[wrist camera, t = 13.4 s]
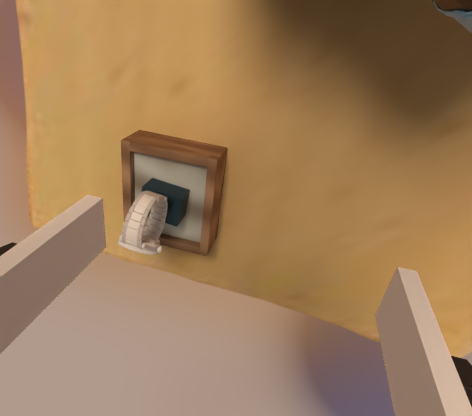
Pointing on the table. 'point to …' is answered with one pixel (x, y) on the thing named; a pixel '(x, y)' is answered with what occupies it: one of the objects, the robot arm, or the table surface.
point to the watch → (153, 215)
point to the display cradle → (177, 183)
